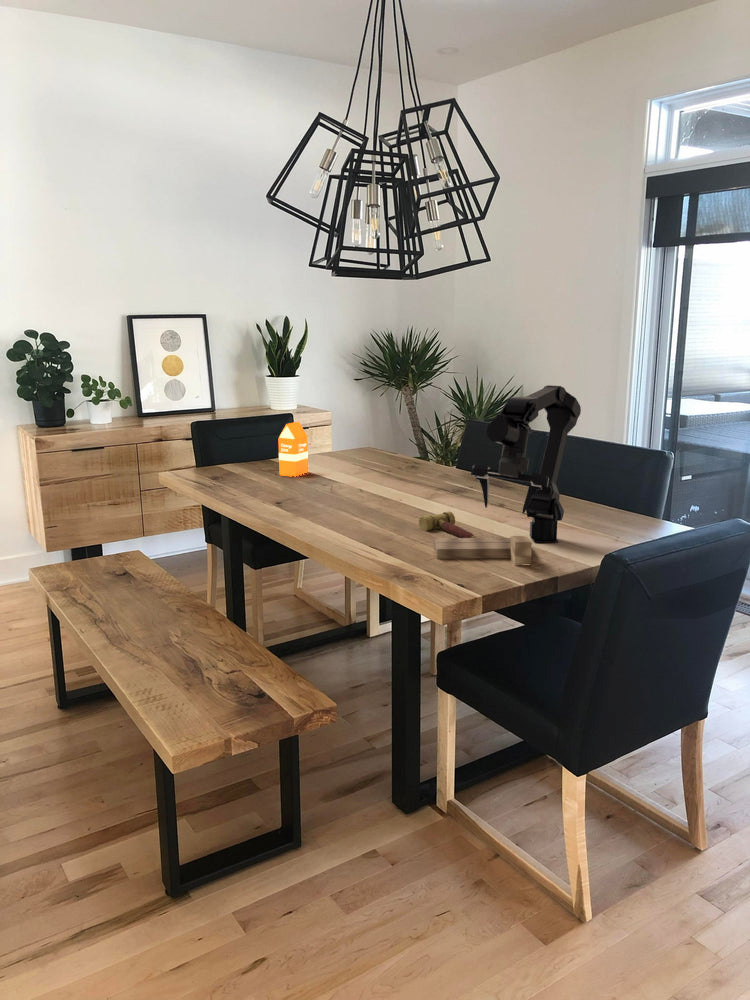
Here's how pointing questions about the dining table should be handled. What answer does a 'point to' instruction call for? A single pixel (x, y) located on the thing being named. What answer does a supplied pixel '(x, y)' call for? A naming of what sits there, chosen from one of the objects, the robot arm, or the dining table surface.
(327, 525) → the dining table surface
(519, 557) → the block
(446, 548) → the plank
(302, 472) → the orange juice
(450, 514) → the gavel
